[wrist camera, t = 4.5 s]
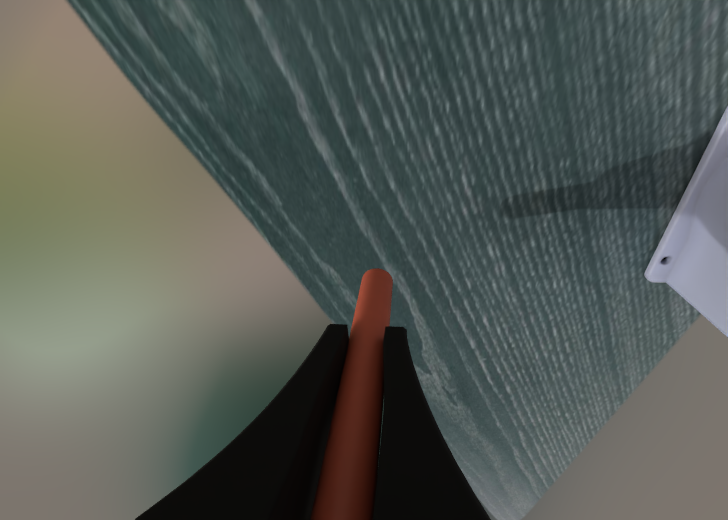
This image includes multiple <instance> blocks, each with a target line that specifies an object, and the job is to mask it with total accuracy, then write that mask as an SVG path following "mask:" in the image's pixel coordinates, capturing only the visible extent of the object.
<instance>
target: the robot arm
mask: <svg viewBox="0 0 728 520" xmlns="http://www.w3.org/2000/svg"><path fill="white" fill-rule="evenodd" d="M665 257H667V258H666V259H664V260H662V259H663V258H665ZM661 260H662V261H661ZM644 275H645V277H646V278H647V279H648V280H649V281H650V282H658V283H667V284H668V285H670V286H671V287H672V288H673V289H674V290H675V291H676V292H677V293H679V294H680V295H681V296H682V297H683V298H684V299H685V300H686V301H687V302H689V303H690V304H691V305H692V306H693V307H694V308H695V309H696V310H698V311H699V312H700V313H701V314H702V315H703V316H704V317H705V318H707V319H708V320H709V321H710V322H711V323H712V324H713V325H714V326H716V327H717V328H718V329H719V330H720V331H721V332H722V333H723V334H724V335H726V336H727V337H728V107H727V108H726V110H725V112H724V114H723V116H722V118H721V120H720V122H719V124H718V126H717V128H716V130H715V132H714V134H713V136H712V138H711V140H710V142H709V144H708V146H707V148H706V150H705V152H704V154H703V156H702V158H701V160H700V162H699V164H698V166H697V168H696V170H695V172H694V174H693V176H692V178H691V180H690V182H689V184H688V186H687V188H686V190H685V192H684V194H683V196H682V198H681V200H680V202H679V204H678V206H677V208H676V210H675V212H674V214H673V216H672V218H671V221H670V223H669V225H668V227H667V229H666V231H665V233H664V235H663V237H662V239H661V241H660V243H659V245H658V247H657V249H656V251H655V253H654V255H653V257H652V259H651V261H650V263H649V265H648V267H647V269H646V271H645V274H644ZM348 343H349V336H348V328H347V325H342V324H330V325H328V326H327V328H326V330H325V331H324V333H323V334H322V336H321V338H320V339H319V341H318V342H317V343H316V345H315V346H314V348H313V349H312V351H311V352H310V354H309V355H308V356H307V358H306V359H305V360H304V362H303V363H302V365H301V366H300V367H299V368H298V370H297V371H296V373H295V374H294V375H293V376H292V377H291V379H290V380H289V381H288V382H287V383H286V385H285V386H284V387H283V388H282V390H281V391H280V392H279V393H278V394H277V396H276V397H275V398H274V399H273V400H272V401H271V402H270V403H269V405H268V406H267V407H266V408H265V409H264V410H263V411H262V412H261V413H260V414H259V415H258V417H256V418H255V419H254V420H253V421H252V422H251V423H250V424H249V425H248V426H247V427H246V428H245V429H244V430H243V431H242V432H241V433H240V434H239V435H238V436H237V437H236V438H235V439H234V440H233V441H232V442H231V443H230V444H229V445H227V446H226V447H225V448H224V449H223V450H222V451H221V452H220V453H218V454H217V455H216V456H215V457H214V458H212V459H211V460H210V461H209V462H208V463H207V464H205V465H204V466H203V467H202V468H201V469H199V470H198V471H197V472H196V473H195V474H194V475H193V476H191V477H190V478H189V479H187V480H186V481H185V482H184V483H182V484H181V485H180V486H178V487H177V488H176V489H174V490H173V491H172V492H170V493H169V494H168V495H167V496H165V497H164V498H163V499H161V500H160V501H159V502H157V503H156V504H155V505H153V506H152V507H151V508H149V509H148V510H147V511H145V512H144V513H143V514H141V515H140V516H138V517H137V518H136V519H135V520H310V518H311V513H312V508H313V504H314V499H315V494H316V490H317V485H318V481H319V476H320V471H321V467H322V462H323V458H324V453H325V448H326V444H327V439H328V434H329V430H330V425H331V421H332V416H333V411H334V407H335V402H336V397H337V393H338V388H339V384H340V379H341V374H342V370H343V366H344V362H345V357H346V352H347V348H348ZM383 364H384V415H383V425H382V436H381V446H380V455H379V465H378V475H377V484H376V494H375V503H374V512H373V520H491V519H490V518H489V516H488V514H487V513H486V511H485V510H484V508H483V506H482V505H481V503H480V502H479V500H478V498H477V497H476V495H475V493H474V492H473V490H472V488H471V487H470V485H469V483H468V481H467V480H466V478H465V476H464V474H463V473H462V471H461V469H460V468H459V466H458V464H457V462H456V461H455V459H454V457H453V455H452V453H451V451H450V449H449V447H448V445H447V444H446V442H445V440H444V438H443V436H442V434H441V432H440V430H439V428H438V425H437V423H436V421H435V419H434V417H433V415H432V412H431V410H430V408H429V405H428V403H427V401H426V398H425V396H424V393H423V391H422V388H421V385H420V383H419V380H418V377H417V374H416V371H415V368H414V365H413V362H412V358H411V354H410V350H409V346H408V341H407V330H406V329H405V328H404V327H390V326H385V333H384V340H383Z"/></svg>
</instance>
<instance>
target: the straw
mask: <svg viewBox="0 0 728 520" xmlns="http://www.w3.org/2000/svg"><path fill="white" fill-rule="evenodd" d="M392 286H393V280H392V277H391V275H390V274H389V273H388V272H386V271H385V270H382V269H371V270H369V271H367V272H366V273H365V274H364V275H363V278H362V282H361V287H360V291H359V296H358V300H357V305H356V310H355V314H354V319H353V324H352V328H351V333H350V337H349V343H348V348H347V352H346V357H345V362H344V366H343V370H342V374H341V379H340V384H339V388H338V393H337V397H336V402H335V407H334V411H333V416H332V421H331V425H330V430H329V434H328V439H327V444H326V448H325V453H324V458H323V462H322V467H321V471H320V476H319V481H318V485H317V490H316V494H315V499H314V504H313V508H312V513H311V518H310V520H373V512H374V503H375V494H376V484H377V474H378V461H379V449H380V436H381V424H382V411H383V399H384V364H383V340H384V333H385V326H389V324H390V311H391V298H392Z"/></svg>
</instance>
